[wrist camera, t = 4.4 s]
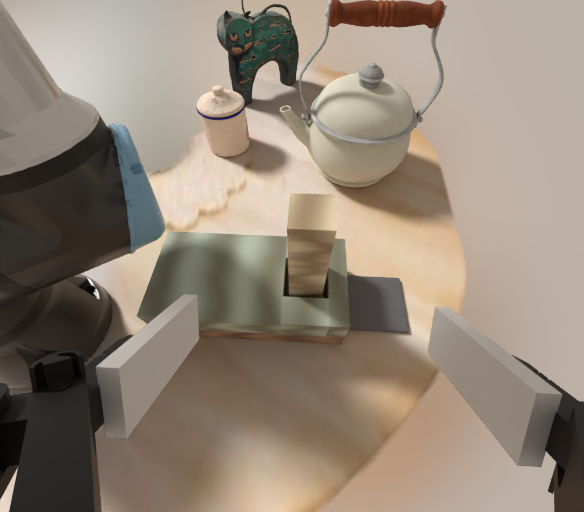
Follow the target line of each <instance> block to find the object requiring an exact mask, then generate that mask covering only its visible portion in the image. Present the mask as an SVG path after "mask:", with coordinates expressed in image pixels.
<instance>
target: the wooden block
mask: <svg viewBox="0 0 584 512" xmlns="http://www.w3.org/2000/svg"><path fill="white" fill-rule="evenodd" d="M335 235H336V208H335V195H322V194H296V193H290V200H289V212H288V225H287V240H288V273H289V297H306V298H322V294H323V289H324V285H325V280H326V276H327V271H328V267H329V262H330V258H331V253H332V249H333V244H334V239H335Z"/></svg>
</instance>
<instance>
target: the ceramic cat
mask: <svg viewBox="0 0 584 512" xmlns="http://www.w3.org/2000/svg"><path fill="white" fill-rule="evenodd" d="M271 7H281V8H284V9H285V10H286V11H287V13H288V15H289V19H290V20H289V19H287V18H286V17H285V16H283V15H281V14H279V13H277V12H274V11H267V9H269V8H271ZM242 9H243V12H244V8H243V0H242ZM249 14H250V11H248V12H244V14H238V13H235V12H228V11H225V13H224V14H222V15H221V16H220V18H219V19H218V22H217V36H218V39H219V42H220V43H221V45H222V46H223V47H224V48H225V49H226V50H227V51H228V59H229V71H230V77H231V81H232V87H233V91H235V92H237V93H239V94H240V95H241V96H242V97H243V99H244V101H245V105H247V104H249V103H251V102H252V87H253V82H254V79H255V76H256V73H257V71H258V69H259V68H260V67H262V66H263V65H264V64H266V63H267V62H269V61H276V62H277V63H278V66H279V71H280V81H281V83H283V84H285V85H292V84H293V83H295V80H296V71H297V64H298V57H299V53H298V41H297V36H296V34H295V30H294V27H293V25H292V21H291V16H290V13H289V11H288V9H287V7H286V6H284V5H281V4H273V5H270V6H268V7H267V8H265V9H264V10H263V11H262V12H259V13H256V14H254V15H252V16H248V15H249Z"/></svg>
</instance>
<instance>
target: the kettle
mask: <svg viewBox="0 0 584 512" xmlns="http://www.w3.org/2000/svg"><path fill="white" fill-rule="evenodd" d="M446 7H447V4H446V3H445V2H444V1H439V0H437V1H435V2H434V3H432V4H430V5H429V4H422V3H417V2H412V1H398V2H395V1H390V2H389V1H382V0H380V1H378V2H377V1H372V0H366V1H358V2H351V3H341V2H340V1H339V0H332V1H331V0H329V4H328V9H327V10H326V12H325V15H326V17H327V25H326V32H325V35H324V38H323V40H322V41H321V43H320V44H319V45H318V46H317V48H316V49H315V50H314V52H313V53H312V54H311V55H310V57H309V58H308V59H307V61H306V63H305V64H304V66H303V67H302V69H301V72H300V75H299V94H300V98H301V101H302V104H303V107H304V109H305V112H306V114H305V115H304V114H302V115H301V119H303V120H304V119H305V120H306V122H304V121H302V120H301V119H300V118H299V117H298V116H297V115H296V114H295V113H294V111H293V110H292V109H291V107H290V106H283V107H281V108H280V112H281V113H282V115H283V117H284V118H285V120H286V122H287V123H288V125H289V127H290V128H291V130H292V131H293V133H294V134H295V136H296V137H297V138H298V139H299V140H300V141H301V142H302V143H303V144H304V145H305V146H307V148H308V150H309V152H310V155H311V156H312V158H313V160H314V161H315V163H316V164H317V167H318V169H319V171H320V172H321V174H322V175H323V176H324V177H325V178H327V179H328V180H330V181H331V182H333V183H335V184H338V185H341V186H345V187H353V188H359V187H366V186H370V185H373V184H375V183H377V182H378V181H380V180H381V179H382V178H383V177H384V176H385V175H387V174H389V173H390V172H392V171H393V170H394V169H396V168H397V167H398V166H399V164H400V163H401V162H402V160H403V159H404V157H405V155H406V153H407V150H408V147H409V142H410V133H411V132H412V130H413V129H414V128H416V126H417V123H418V122H422V121H423V118H422V117H421V115H422V114H423V113H424V112H425V111H426V109H427V108H428V107H429V106H430V105H431V103H432V102H433V101H434V99H435V98H436V96H437V95H438V93H439V91H440V89H441V87H442V84H443V80H444V75H443V68H442V64H441V61H440V58H439V55H438V52H437V49H436V44H435V41H436V36H437V32H438V29H439V26H440V23H441V21H442V18H443V17H444V15H445V10H446ZM340 23H344V24H350V25H355V26H363V27H369V26H375V27H378V26H381V27H384V26H386V27H390V26H393V27H408V26H415V25H423V24H425V25H427V26H428V27H429V28H433V30H432V34H431V43H432V47H433V50H434V53H435V56H436V59H437V62H438V66H439V72H440V75H439V80H438V83H437V85H436V88H435V89H434V91H433V92H432V94H431V95H430V97H429V98H428V99H427V101H426V102H425V103H424V104H423V105H422V107H421V108H420V109H419V110H418V112H417V114H416V112H415V110H414V108H413V106H412V101H411V98H410V96H409V94H408V93H407V91H406V90H405V89H404V88H403V87H402V86H401V85H400V84H398V83H397V82H395V81H394V80H392V79H390V78H387V77H385V76H384V74H383V72H382V69H381V68H380V67H379V66H378V65H376V64H375V63H371V64H369V65H367V66H364V67H363V68H362V69H361V70H360V71H359V72H358V73H355V74H349V75H345V76H342V77H340V78H338V79H336V80H334V81H332V82H331V83H330V84H328V85H327V86H326V87H325V88H324V90H323V91H322V92H321V94H320V95H319V96H318V97H317V98H316V99H315V100H314V101H313V103H312V106H311V115H309V114H308V108H307V105H306V102H305V100H304V97H303V93H302V89H301V78H302V75H303V73H304V71H305V70H306V68H307V67H308V65H309V64H310V63H311V61H312V60H313V59H314V57H315V56H316V55H317V54H318V52H319V51H320V50H321V49H322V47H323V45H324V44H325V42H326V40H327V37H328V32H329V26H331V27H335V26H337V25H338V24H340ZM309 119H311V120H310V122H308V120H309Z"/></svg>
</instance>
